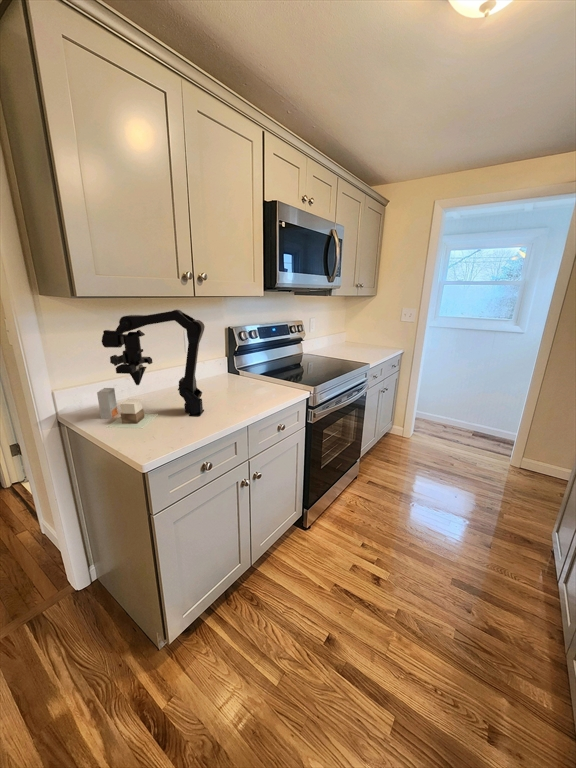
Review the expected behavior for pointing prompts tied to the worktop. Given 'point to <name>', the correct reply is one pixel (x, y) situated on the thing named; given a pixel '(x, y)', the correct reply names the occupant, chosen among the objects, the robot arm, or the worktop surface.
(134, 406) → the brick cream
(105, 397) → the skincare box
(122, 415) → the brick walnut
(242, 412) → the worktop surface
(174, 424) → the worktop surface
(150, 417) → the baseplate
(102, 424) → the worktop surface
